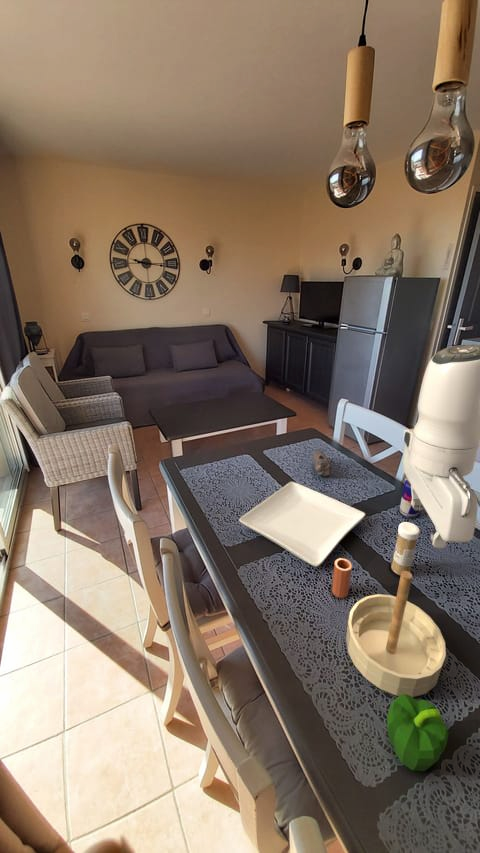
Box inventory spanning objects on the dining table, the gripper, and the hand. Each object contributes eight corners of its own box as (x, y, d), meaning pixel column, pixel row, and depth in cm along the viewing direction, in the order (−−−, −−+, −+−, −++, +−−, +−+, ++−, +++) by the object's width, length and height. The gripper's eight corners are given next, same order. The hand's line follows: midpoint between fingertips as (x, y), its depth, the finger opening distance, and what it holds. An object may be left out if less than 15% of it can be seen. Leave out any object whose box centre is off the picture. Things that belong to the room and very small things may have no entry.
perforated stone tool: (309, 460, 143) (310, 444, 140) (322, 459, 143) (323, 444, 140) (317, 480, 129) (318, 463, 127) (331, 480, 129) (333, 463, 127)
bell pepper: (382, 768, 55) (391, 731, 51) (383, 711, 62) (391, 675, 58) (443, 793, 53) (458, 756, 48) (437, 731, 60) (449, 694, 55)
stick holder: (347, 585, 87) (350, 558, 84) (349, 598, 84) (353, 571, 80) (330, 584, 87) (333, 557, 84) (332, 597, 84) (335, 570, 81)
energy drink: (401, 517, 110) (408, 483, 105) (397, 506, 114) (403, 474, 109) (420, 518, 109) (427, 484, 104) (415, 507, 114) (422, 475, 109)
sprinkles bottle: (388, 563, 93) (395, 521, 88) (406, 563, 93) (414, 521, 87) (395, 577, 89) (403, 534, 83) (413, 577, 89) (423, 533, 83)
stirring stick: (394, 645, 72) (410, 570, 64) (396, 654, 71) (413, 578, 62) (384, 644, 72) (399, 570, 64) (387, 653, 71) (402, 578, 63)
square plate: (237, 529, 107) (237, 518, 105) (291, 489, 125) (291, 479, 123) (316, 576, 90) (317, 565, 88) (365, 522, 108) (367, 511, 106)
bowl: (421, 617, 79) (426, 597, 76) (454, 704, 63) (462, 683, 61) (340, 611, 81) (342, 591, 78) (353, 694, 65) (357, 672, 63)
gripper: (500, 492, 46) (476, 574, 51) (438, 426, 64) (425, 491, 70) (447, 491, 46) (429, 571, 52) (400, 426, 65) (391, 490, 70)
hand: (426, 525), depth 61 cm, fingers open, 8 cm apart
